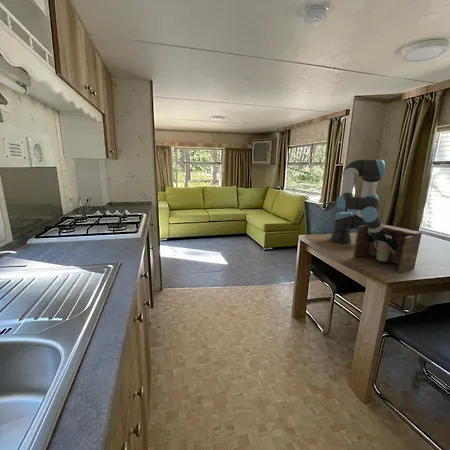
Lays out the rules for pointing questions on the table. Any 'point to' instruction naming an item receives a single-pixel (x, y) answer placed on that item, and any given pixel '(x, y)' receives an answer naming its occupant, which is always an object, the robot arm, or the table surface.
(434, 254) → the table surface
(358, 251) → the walnut box
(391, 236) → the robot arm
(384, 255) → the coffee cup
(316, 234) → the table surface
